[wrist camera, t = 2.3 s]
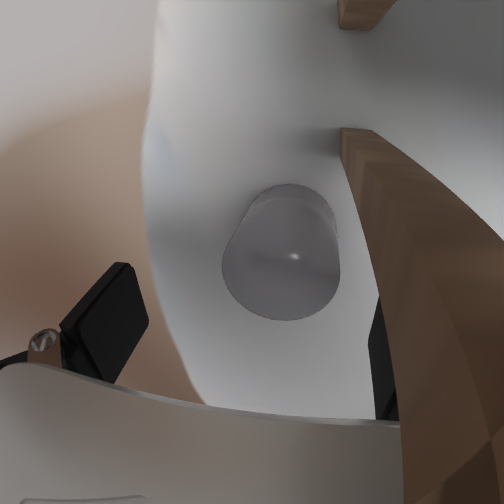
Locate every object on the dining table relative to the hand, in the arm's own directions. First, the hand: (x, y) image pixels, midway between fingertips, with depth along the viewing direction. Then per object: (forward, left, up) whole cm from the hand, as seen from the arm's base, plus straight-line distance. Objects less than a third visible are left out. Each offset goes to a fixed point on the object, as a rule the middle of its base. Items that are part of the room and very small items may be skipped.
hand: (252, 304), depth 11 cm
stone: (-1, 0, -8) cm, 8 cm away
